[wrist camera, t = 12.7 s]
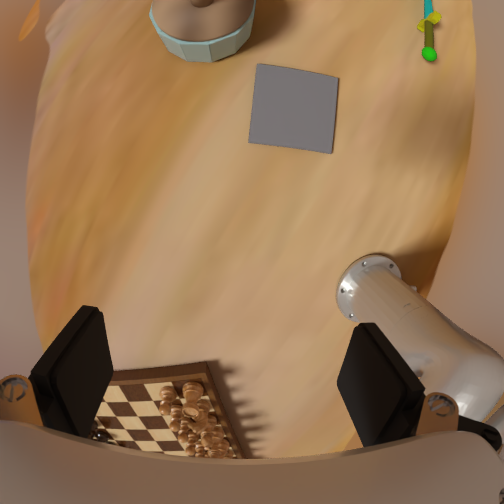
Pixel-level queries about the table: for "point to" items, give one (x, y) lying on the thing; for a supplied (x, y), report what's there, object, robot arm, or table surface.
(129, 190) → the table surface
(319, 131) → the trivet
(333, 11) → the table surface
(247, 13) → the lid
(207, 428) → the chess set
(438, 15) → the toy sword
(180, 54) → the bowl
